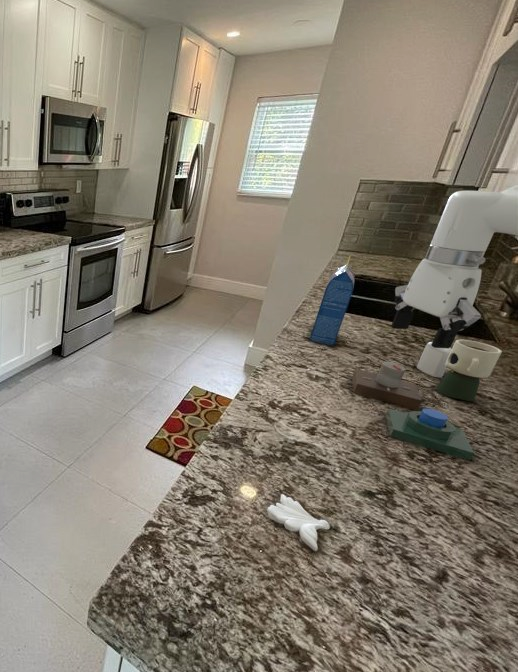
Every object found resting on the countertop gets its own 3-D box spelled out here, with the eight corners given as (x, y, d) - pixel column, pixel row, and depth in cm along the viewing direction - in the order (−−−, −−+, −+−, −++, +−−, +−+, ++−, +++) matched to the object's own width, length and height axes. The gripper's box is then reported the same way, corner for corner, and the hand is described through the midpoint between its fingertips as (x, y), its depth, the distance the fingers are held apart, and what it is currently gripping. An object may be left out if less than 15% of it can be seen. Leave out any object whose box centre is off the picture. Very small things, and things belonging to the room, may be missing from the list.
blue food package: (307, 341, 122) (334, 259, 113) (312, 330, 131) (337, 253, 122) (333, 348, 118) (363, 263, 109) (336, 336, 127) (363, 257, 118)
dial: (371, 377, 96) (378, 359, 94) (391, 380, 95) (398, 361, 93) (381, 386, 92) (389, 367, 91) (402, 389, 92) (410, 370, 90)
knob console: (410, 394, 95) (415, 382, 94) (416, 412, 88) (422, 399, 87) (351, 379, 101) (355, 368, 100) (352, 394, 94) (357, 383, 93)
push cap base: (457, 437, 80) (465, 420, 79) (469, 463, 74) (479, 444, 72) (384, 417, 86) (391, 400, 85) (389, 438, 80) (397, 421, 78)
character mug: (432, 382, 101) (454, 334, 97) (473, 393, 97) (499, 343, 92) (432, 399, 94) (456, 347, 89) (477, 412, 89) (505, 359, 85)
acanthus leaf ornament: (314, 555, 55) (319, 545, 54) (260, 521, 60) (263, 511, 59) (332, 526, 60) (336, 516, 59) (280, 497, 64) (283, 487, 64)
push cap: (441, 421, 79) (446, 412, 78) (445, 430, 76) (450, 421, 76) (416, 415, 81) (420, 406, 80) (419, 423, 78) (424, 414, 78)
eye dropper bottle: (419, 375, 105) (438, 332, 100) (414, 366, 109) (433, 325, 105) (442, 380, 102) (463, 336, 98) (437, 371, 107) (456, 329, 102)
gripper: (522, 269, 71) (479, 357, 77) (432, 248, 87) (401, 322, 94) (478, 267, 72) (438, 355, 78) (396, 247, 88) (368, 321, 94)
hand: (418, 337), depth 86 cm, fingers open, 9 cm apart
